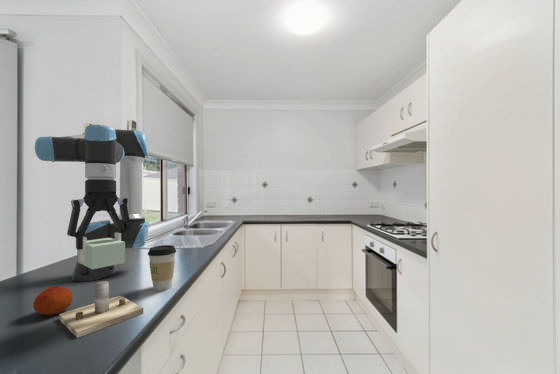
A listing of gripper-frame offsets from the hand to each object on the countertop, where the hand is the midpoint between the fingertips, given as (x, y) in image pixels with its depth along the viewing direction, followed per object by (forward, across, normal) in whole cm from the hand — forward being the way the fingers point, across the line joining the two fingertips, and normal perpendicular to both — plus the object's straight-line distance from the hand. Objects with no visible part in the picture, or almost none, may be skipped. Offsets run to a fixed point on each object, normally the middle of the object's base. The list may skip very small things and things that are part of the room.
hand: (101, 257), depth 76 cm
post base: (+17, 0, 0) cm, 17 cm away
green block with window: (+2, 0, 0) cm, 2 cm away
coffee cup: (+17, +22, +7) cm, 29 cm away
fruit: (+17, -8, +15) cm, 24 cm away
